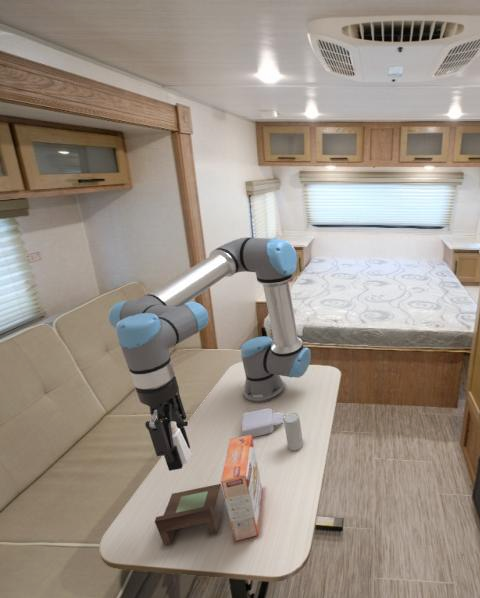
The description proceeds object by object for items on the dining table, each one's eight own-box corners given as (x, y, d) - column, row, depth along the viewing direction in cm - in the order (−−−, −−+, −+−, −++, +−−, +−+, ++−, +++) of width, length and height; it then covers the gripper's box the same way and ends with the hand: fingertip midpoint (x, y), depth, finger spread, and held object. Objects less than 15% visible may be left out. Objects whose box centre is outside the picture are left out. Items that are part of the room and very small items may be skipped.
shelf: (177, 509, 93) (169, 485, 90) (224, 498, 96) (218, 475, 93) (164, 546, 84) (154, 521, 81) (217, 533, 87) (209, 509, 84)
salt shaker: (194, 448, 89) (184, 414, 84) (190, 464, 84) (179, 429, 80) (170, 454, 87) (158, 419, 83) (164, 470, 82) (152, 435, 78)
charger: (289, 430, 121) (243, 440, 116) (288, 413, 129) (245, 422, 124) (288, 419, 119) (241, 429, 114) (287, 403, 127) (243, 412, 122)
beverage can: (298, 452, 112) (294, 423, 107) (285, 450, 112) (280, 421, 108) (305, 441, 116) (301, 413, 111) (292, 439, 117) (288, 411, 112)
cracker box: (260, 535, 87) (246, 475, 79) (234, 542, 85) (218, 482, 77) (264, 488, 99) (252, 432, 91) (241, 493, 98) (228, 437, 90)
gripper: (152, 361, 84) (175, 434, 93) (115, 410, 67) (147, 494, 76) (186, 357, 86) (206, 429, 94) (159, 404, 69) (185, 486, 78)
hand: (180, 458), depth 85 cm, fingers closed on salt shaker, 5 cm apart
